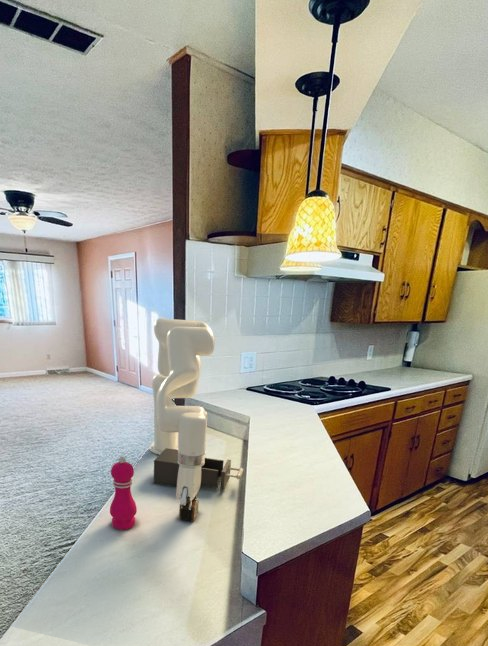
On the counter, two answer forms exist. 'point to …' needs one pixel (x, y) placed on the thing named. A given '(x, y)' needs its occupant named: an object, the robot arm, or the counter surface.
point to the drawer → (217, 473)
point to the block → (194, 509)
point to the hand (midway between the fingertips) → (188, 515)
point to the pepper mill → (122, 496)
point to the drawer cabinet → (166, 468)
